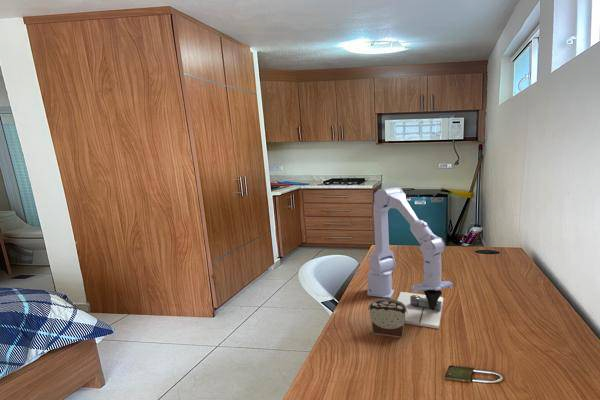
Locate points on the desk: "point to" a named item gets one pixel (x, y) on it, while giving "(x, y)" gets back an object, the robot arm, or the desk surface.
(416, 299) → the bar
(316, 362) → the desk surface
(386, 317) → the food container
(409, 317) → the door board
